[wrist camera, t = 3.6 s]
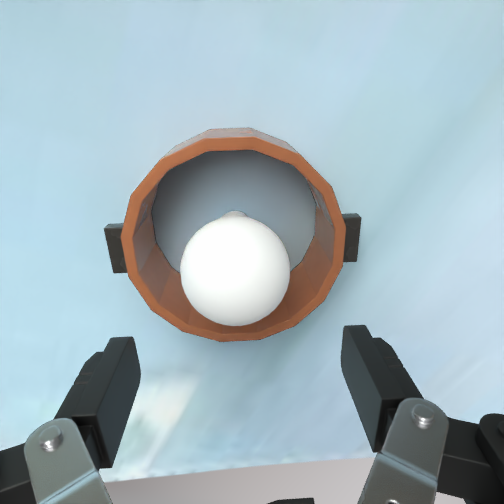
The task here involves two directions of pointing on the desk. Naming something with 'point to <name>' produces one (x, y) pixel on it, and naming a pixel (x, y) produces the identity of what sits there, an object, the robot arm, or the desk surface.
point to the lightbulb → (235, 270)
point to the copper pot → (169, 280)
